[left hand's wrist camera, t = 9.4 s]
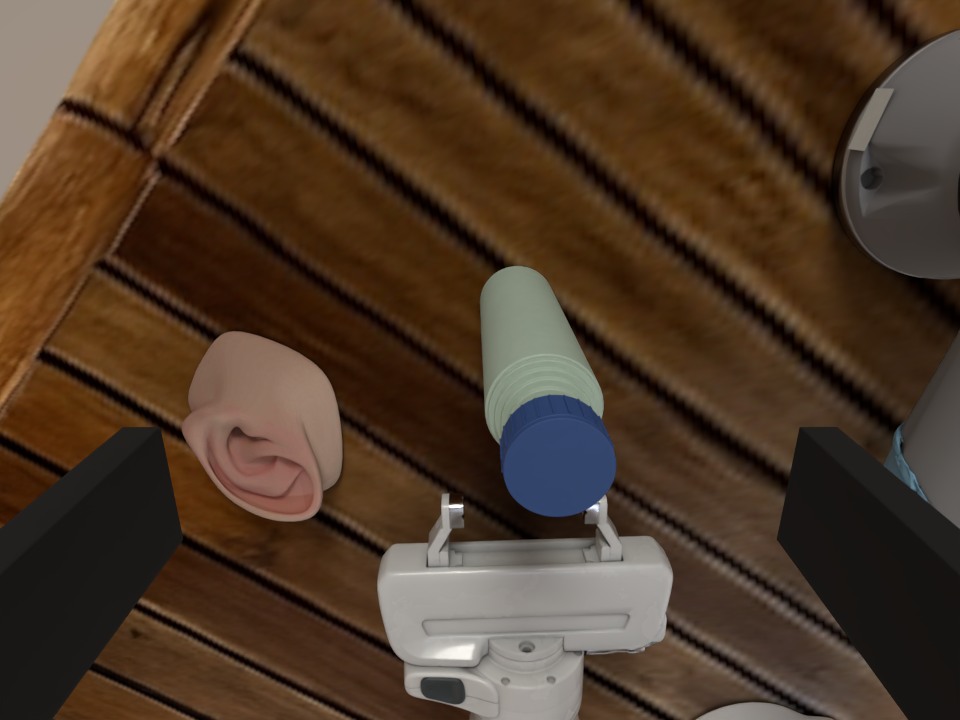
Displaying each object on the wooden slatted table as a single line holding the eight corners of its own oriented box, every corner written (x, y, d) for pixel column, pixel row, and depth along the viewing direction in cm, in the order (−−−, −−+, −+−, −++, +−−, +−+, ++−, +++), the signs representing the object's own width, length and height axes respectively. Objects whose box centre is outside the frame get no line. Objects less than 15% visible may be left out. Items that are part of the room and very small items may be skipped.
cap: (623, 458, 24) (636, 487, 22) (530, 504, 25) (535, 535, 23) (576, 374, 23) (586, 396, 21) (479, 424, 23) (480, 451, 21)
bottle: (565, 315, 43) (651, 485, 22) (502, 349, 44) (529, 544, 23) (531, 252, 42) (590, 373, 21) (466, 288, 42) (461, 441, 22)
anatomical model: (161, 342, 39) (340, 366, 40) (187, 323, 43) (351, 345, 44) (167, 515, 44) (328, 533, 44) (191, 485, 47) (339, 502, 48)
